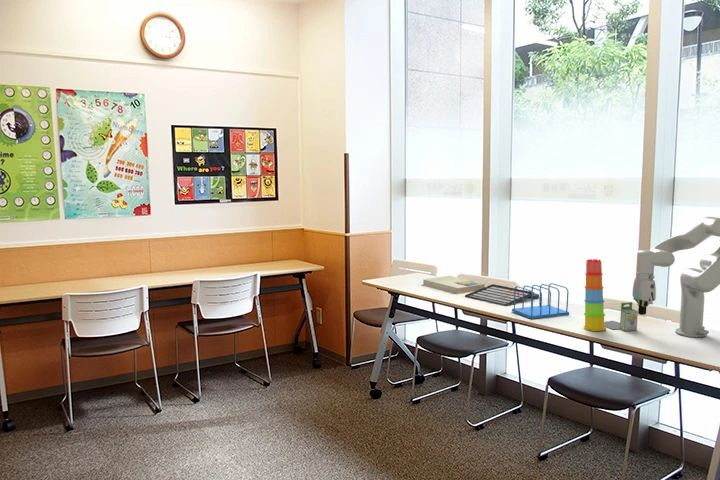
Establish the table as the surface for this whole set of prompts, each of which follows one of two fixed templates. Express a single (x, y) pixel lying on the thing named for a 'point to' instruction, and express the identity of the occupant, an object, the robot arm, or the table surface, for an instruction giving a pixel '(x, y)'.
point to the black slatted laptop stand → (500, 295)
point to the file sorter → (540, 305)
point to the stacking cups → (594, 296)
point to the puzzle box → (453, 284)
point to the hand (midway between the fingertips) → (642, 314)
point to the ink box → (628, 317)
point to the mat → (612, 325)
